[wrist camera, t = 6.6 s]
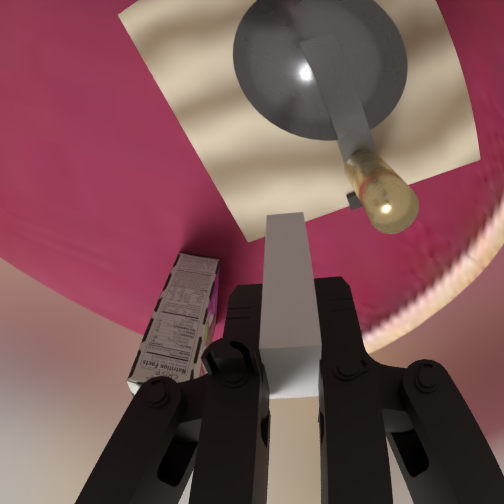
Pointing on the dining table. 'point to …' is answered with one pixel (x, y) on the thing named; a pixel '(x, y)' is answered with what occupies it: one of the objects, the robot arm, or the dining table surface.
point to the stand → (282, 142)
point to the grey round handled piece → (331, 87)
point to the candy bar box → (180, 323)
